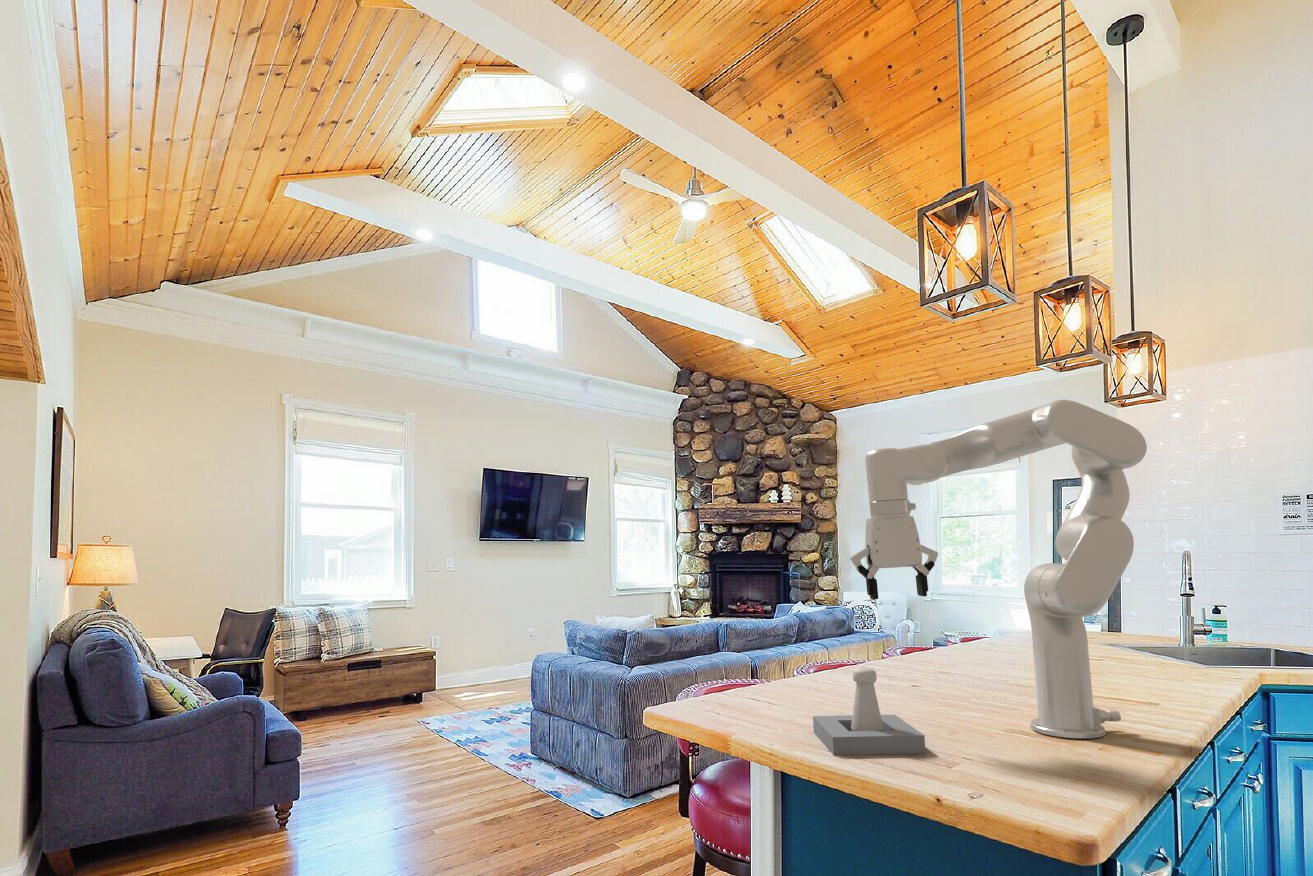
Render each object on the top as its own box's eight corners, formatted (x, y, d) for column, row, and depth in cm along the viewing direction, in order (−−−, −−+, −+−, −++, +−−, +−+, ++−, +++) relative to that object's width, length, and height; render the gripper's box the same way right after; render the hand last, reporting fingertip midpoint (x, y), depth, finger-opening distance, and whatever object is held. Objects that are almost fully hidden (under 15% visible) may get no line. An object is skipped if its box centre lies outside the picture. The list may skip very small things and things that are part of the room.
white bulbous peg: (885, 746, 135) (881, 671, 137) (852, 745, 137) (848, 671, 138) (882, 738, 141) (879, 666, 143) (851, 737, 142) (847, 665, 144)
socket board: (895, 730, 147) (894, 714, 147) (925, 753, 131) (924, 735, 131) (813, 732, 147) (812, 716, 147) (833, 755, 131) (832, 737, 131)
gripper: (924, 508, 155) (933, 593, 153) (841, 513, 154) (849, 598, 152) (939, 507, 148) (949, 596, 145) (852, 512, 147) (860, 601, 144)
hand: (898, 597), depth 149 cm, fingers open, 9 cm apart
